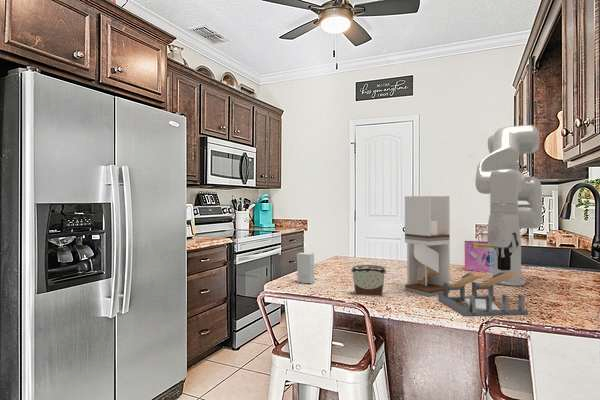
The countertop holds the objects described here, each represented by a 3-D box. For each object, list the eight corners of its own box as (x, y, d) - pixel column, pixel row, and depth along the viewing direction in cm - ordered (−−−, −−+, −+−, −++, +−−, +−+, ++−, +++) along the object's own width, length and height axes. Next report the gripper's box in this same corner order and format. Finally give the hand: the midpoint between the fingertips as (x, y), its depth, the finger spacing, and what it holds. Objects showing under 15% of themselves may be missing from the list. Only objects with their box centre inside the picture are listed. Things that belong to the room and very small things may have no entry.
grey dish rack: (437, 299, 130) (437, 282, 130) (492, 298, 132) (492, 281, 132) (465, 316, 112) (464, 296, 112) (527, 314, 114) (527, 294, 114)
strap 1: (447, 290, 130) (445, 284, 131) (459, 290, 131) (458, 284, 132) (472, 278, 114) (470, 270, 115) (486, 277, 114) (484, 270, 115)
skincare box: (315, 282, 159) (314, 252, 158) (310, 284, 155) (310, 254, 154) (301, 281, 161) (301, 252, 161) (296, 283, 157) (296, 253, 157)
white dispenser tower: (405, 290, 145) (404, 196, 144) (425, 286, 150) (424, 196, 150) (429, 296, 135) (429, 196, 135) (449, 292, 140) (449, 196, 140)
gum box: (520, 271, 181) (520, 242, 181) (522, 274, 173) (522, 244, 173) (464, 268, 190) (464, 240, 190) (464, 270, 183) (464, 242, 183)
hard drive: (464, 298, 129) (471, 307, 117) (490, 299, 127) (501, 309, 115) (464, 303, 129) (471, 313, 117) (490, 304, 127) (501, 315, 115)
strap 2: (475, 290, 131) (474, 283, 132) (488, 290, 131) (486, 283, 132) (504, 277, 115) (502, 270, 116) (519, 277, 115) (517, 269, 116)
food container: (386, 292, 141) (386, 265, 141) (386, 296, 135) (386, 267, 135) (352, 290, 144) (352, 263, 144) (351, 294, 138) (350, 266, 138)
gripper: (478, 209, 126) (479, 265, 126) (507, 210, 111) (507, 274, 111) (501, 209, 126) (501, 265, 126) (532, 210, 112) (532, 274, 112)
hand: (504, 269), depth 119 cm, fingers closed
